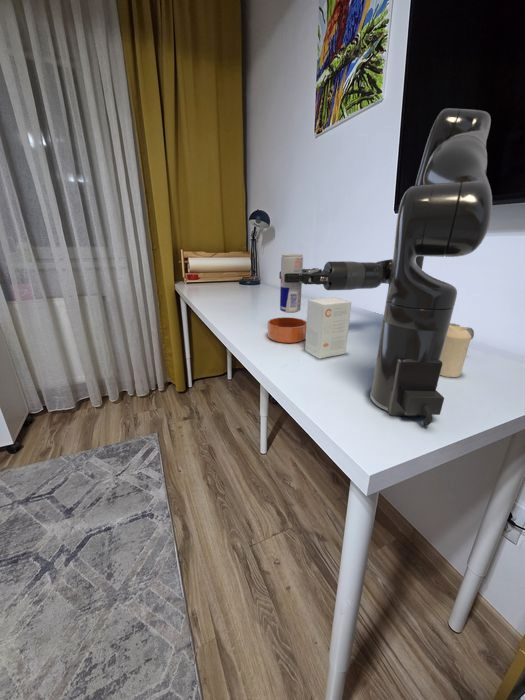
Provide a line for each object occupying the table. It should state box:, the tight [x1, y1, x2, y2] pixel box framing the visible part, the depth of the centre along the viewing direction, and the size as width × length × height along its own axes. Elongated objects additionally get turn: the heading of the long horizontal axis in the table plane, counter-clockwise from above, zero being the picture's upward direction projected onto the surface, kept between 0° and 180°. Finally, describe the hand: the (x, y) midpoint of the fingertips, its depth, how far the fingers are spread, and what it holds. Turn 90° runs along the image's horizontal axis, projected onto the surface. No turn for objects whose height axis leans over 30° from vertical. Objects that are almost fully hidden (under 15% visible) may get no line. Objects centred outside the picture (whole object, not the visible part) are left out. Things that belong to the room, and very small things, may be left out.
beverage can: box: [279, 253, 304, 314], centre depth 77 cm, size 6×6×15 cm
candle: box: [440, 325, 472, 378], centre depth 60 cm, size 6×6×10 cm
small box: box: [304, 296, 352, 360], centre depth 70 cm, size 8×6×13 cm
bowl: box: [267, 316, 307, 344], centre depth 82 cm, size 11×11×4 cm
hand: (282, 276), depth 76 cm, fingers closed on beverage can, 5 cm apart
